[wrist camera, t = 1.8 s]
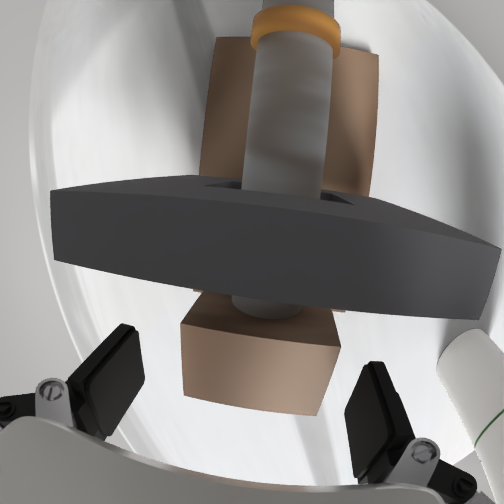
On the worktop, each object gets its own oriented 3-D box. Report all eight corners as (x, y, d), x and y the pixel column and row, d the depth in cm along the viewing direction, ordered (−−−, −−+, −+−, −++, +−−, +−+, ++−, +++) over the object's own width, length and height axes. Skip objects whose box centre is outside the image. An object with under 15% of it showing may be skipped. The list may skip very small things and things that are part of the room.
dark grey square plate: (376, 198, 16) (501, 248, 5) (371, 228, 17) (479, 319, 5) (190, 175, 17) (50, 190, 6) (188, 205, 18) (54, 259, 7)
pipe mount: (374, 60, 16) (439, -21, 5) (342, 305, 22) (376, 416, 10) (220, 43, 17) (159, -47, 6) (197, 285, 23) (126, 378, 11)
